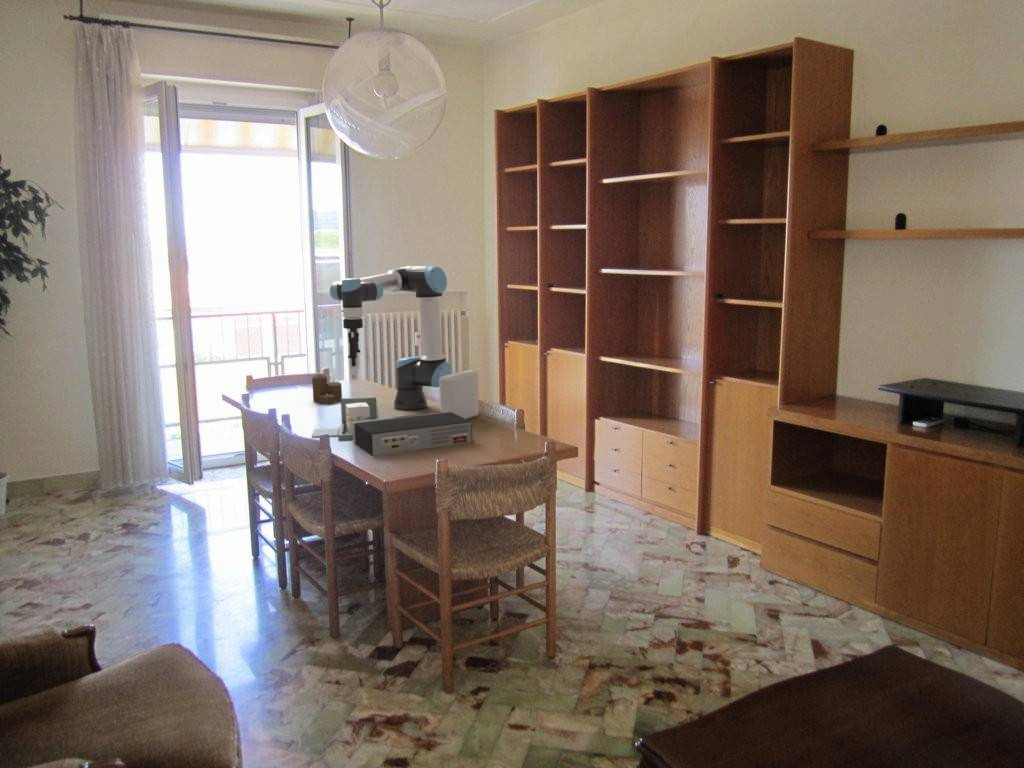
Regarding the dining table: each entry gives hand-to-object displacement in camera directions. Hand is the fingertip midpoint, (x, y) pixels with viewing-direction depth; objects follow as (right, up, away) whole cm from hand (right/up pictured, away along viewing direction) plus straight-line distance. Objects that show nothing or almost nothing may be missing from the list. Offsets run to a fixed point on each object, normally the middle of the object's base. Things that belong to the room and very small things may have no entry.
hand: (355, 371), depth 330 cm
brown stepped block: (-27, -13, +71) cm, 77 cm away
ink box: (+1, -25, +4) cm, 25 cm away
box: (+24, -28, -11) cm, 38 cm away
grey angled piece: (+1, -24, +4) cm, 25 cm away
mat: (-13, -25, +4) cm, 28 cm away
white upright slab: (+39, -20, +27) cm, 52 cm away
